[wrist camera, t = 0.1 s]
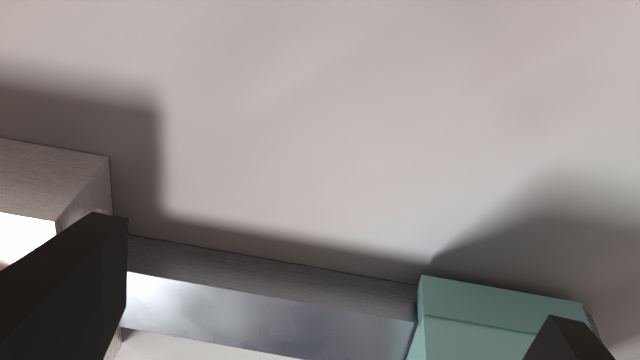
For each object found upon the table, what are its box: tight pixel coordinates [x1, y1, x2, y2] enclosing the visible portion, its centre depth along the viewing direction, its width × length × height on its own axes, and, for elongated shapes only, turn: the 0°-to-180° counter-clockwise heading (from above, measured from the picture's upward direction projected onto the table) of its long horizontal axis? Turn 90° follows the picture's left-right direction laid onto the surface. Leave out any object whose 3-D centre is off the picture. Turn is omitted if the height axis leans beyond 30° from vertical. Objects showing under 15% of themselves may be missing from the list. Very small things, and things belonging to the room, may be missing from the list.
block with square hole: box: [0, 138, 122, 360], centre depth 22 cm, size 10×7×4 cm
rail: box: [118, 235, 602, 360], centre depth 23 cm, size 3×19×2 cm, turn 82°
